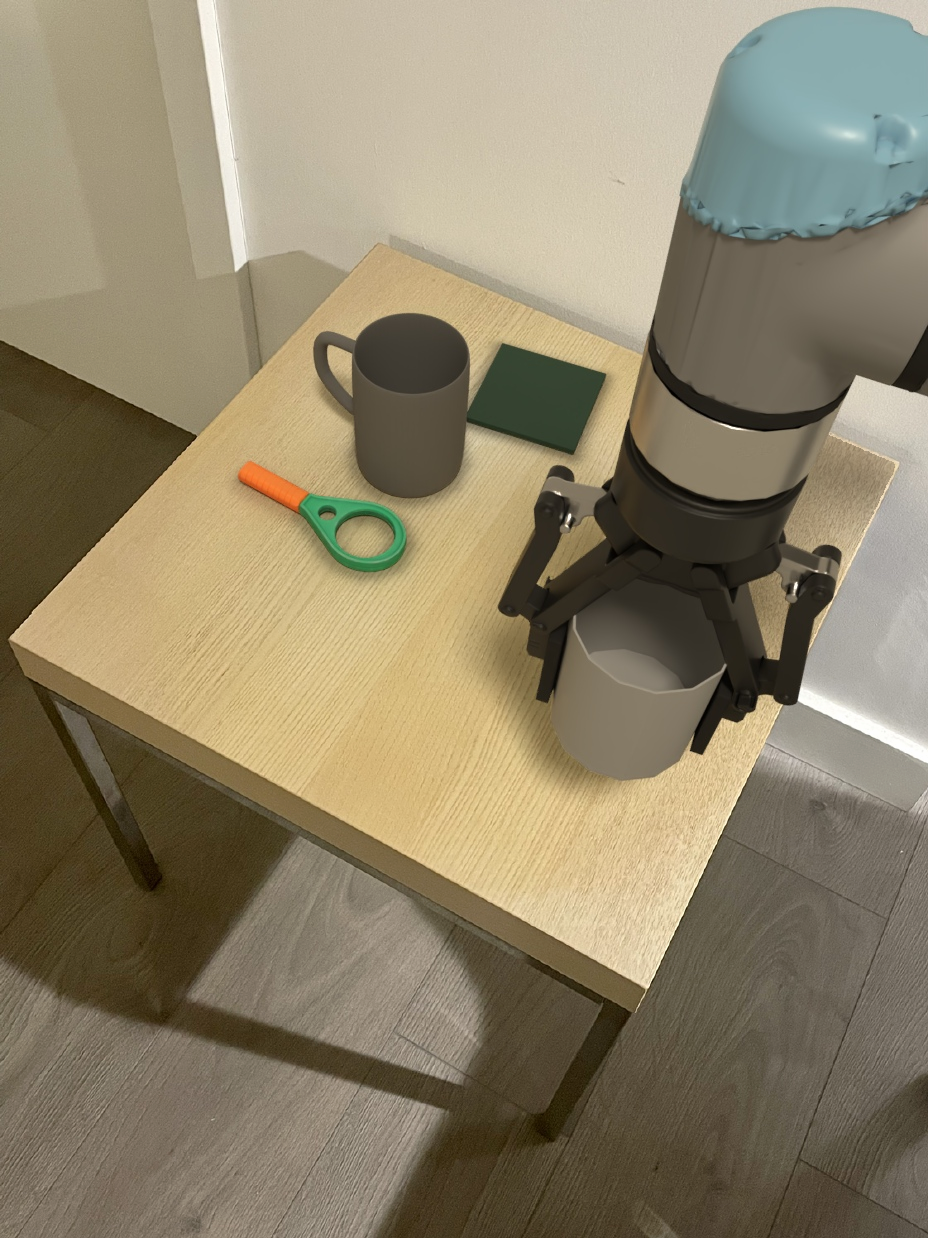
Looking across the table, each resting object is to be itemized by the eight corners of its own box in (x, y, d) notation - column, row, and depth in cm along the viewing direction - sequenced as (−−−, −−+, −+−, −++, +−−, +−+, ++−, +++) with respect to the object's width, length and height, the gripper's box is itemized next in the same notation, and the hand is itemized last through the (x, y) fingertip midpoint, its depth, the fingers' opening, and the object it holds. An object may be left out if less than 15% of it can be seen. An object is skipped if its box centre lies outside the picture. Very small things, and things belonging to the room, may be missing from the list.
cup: (591, 631, 66) (618, 530, 57) (715, 693, 63) (762, 598, 55) (525, 736, 61) (543, 644, 53) (655, 807, 59) (696, 722, 51)
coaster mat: (605, 378, 97) (606, 373, 97) (573, 455, 92) (574, 450, 92) (501, 347, 99) (502, 342, 98) (464, 421, 94) (464, 416, 93)
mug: (482, 446, 92) (493, 339, 82) (428, 517, 88) (432, 413, 78) (348, 384, 95) (343, 274, 85) (289, 450, 91) (276, 342, 81)
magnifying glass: (420, 533, 87) (421, 520, 85) (379, 585, 84) (379, 572, 82) (268, 455, 90) (266, 441, 89) (223, 502, 87) (220, 488, 86)
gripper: (997, 446, 43) (817, 712, 62) (499, 307, 46) (472, 601, 65) (981, 589, 39) (794, 827, 58) (438, 426, 42) (428, 702, 61)
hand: (624, 707), depth 62 cm, fingers closed on cup, 8 cm apart
